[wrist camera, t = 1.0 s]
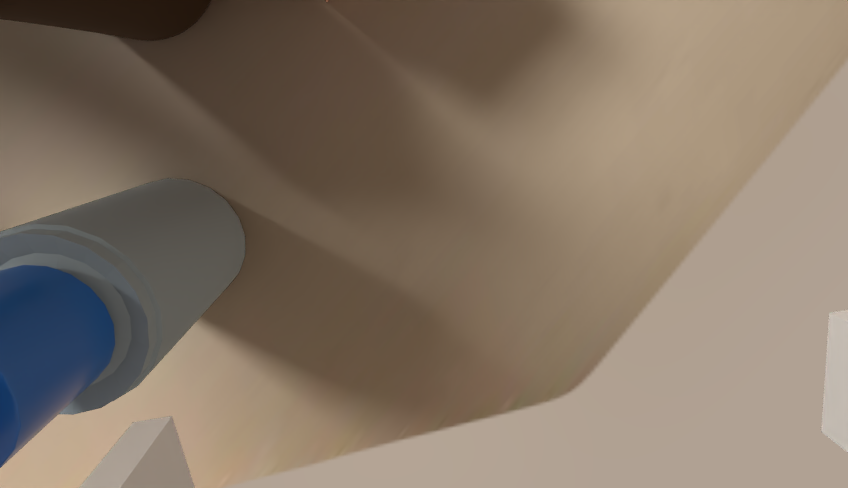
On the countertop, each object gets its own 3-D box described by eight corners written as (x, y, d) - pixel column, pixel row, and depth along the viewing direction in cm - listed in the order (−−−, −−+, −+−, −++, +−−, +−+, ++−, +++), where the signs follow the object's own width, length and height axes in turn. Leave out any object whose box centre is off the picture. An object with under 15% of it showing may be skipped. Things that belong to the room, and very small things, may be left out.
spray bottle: (101, 183, 35) (-549, 364, 11) (234, 172, 35) (-113, 325, 11) (130, 306, 37) (-348, 676, 13) (255, 295, 38) (7, 638, 14)
